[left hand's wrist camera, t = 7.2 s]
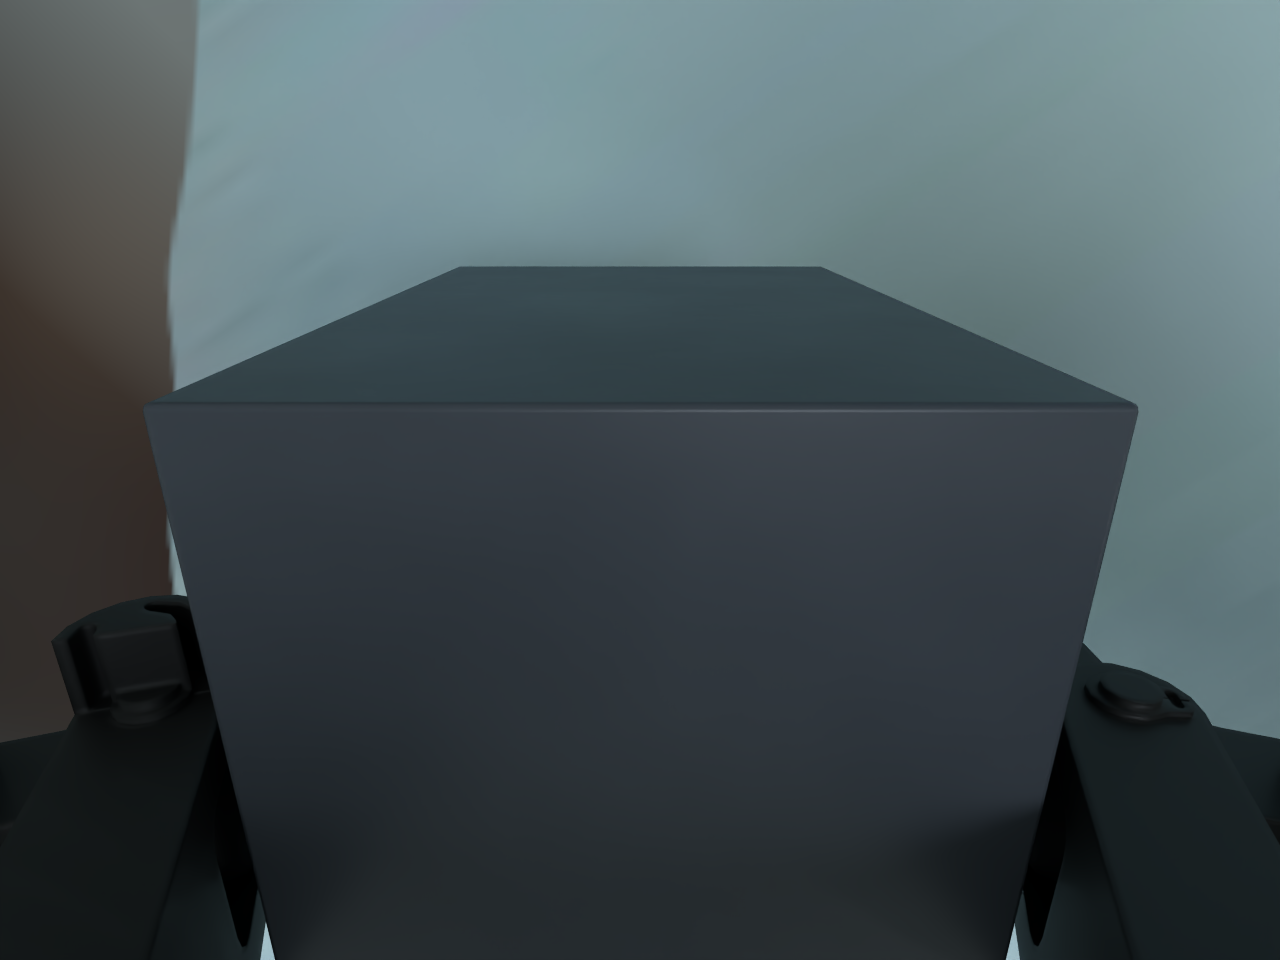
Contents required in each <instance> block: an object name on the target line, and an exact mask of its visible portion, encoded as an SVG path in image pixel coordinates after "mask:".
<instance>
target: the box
mask: <svg viewBox="0 0 1280 960" xmlns="http://www.w3.org/2000/svg"><path fill="white" fill-rule="evenodd" d="M143 415H144V419H145V423H146V427H147V431H148V435H149V439H150V443H151V448H152V452H153V456H154V460H155V464H156V468H157V472H158V476H159V481H160V485H161V489H162V493H163V497H164V501H165V506H166V510H167V514H168V518H169V522H170V526H171V530H172V535H173V539H174V543H175V547H176V551H177V555H178V559H179V564H180V568H181V572H182V576H183V580H184V584H185V588H186V593H187V597H188V601H189V605H190V609H191V613H192V617H193V622H194V626H195V630H196V634H197V638H198V642H199V646H200V651H201V655H202V659H203V663H204V667H205V671H206V675H207V680H208V684H209V688H210V692H211V696H212V700H213V704H214V709H215V713H216V717H217V721H218V725H219V729H220V733H221V737H222V742H223V746H224V750H225V754H226V758H227V762H228V766H229V771H230V775H231V779H232V783H233V787H234V791H235V795H236V800H237V804H238V808H239V812H240V816H241V820H242V824H243V829H244V833H245V837H246V841H247V845H248V849H249V853H250V858H251V862H252V866H253V870H254V874H255V878H256V882H257V887H258V891H259V895H260V899H261V903H262V907H263V911H264V916H265V920H266V924H267V928H268V932H269V936H270V940H271V945H272V949H273V953H274V957H275V960H1006V956H1007V952H1008V948H1009V944H1010V940H1011V936H1012V932H1013V927H1014V923H1015V919H1016V915H1017V911H1018V907H1019V903H1020V899H1021V894H1022V890H1023V886H1024V882H1025V878H1026V874H1027V870H1028V866H1029V861H1030V857H1031V853H1032V849H1033V845H1034V841H1035V837H1036V833H1037V828H1038V824H1039V820H1040V816H1041V812H1042V808H1043V804H1044V799H1045V795H1046V791H1047V787H1048V783H1049V779H1050V775H1051V771H1052V766H1053V762H1054V758H1055V754H1056V750H1057V746H1058V742H1059V738H1060V733H1061V729H1062V725H1063V721H1064V717H1065V713H1066V709H1067V705H1068V700H1069V696H1070V692H1071V688H1072V684H1073V680H1074V676H1075V672H1076V667H1077V663H1078V659H1079V655H1080V651H1081V647H1082V643H1083V638H1084V634H1085V630H1086V626H1087V622H1088V618H1089V614H1090V610H1091V605H1092V601H1093V597H1094V593H1095V589H1096V585H1097V581H1098V577H1099V572H1100V568H1101V564H1102V560H1103V556H1104V552H1105V548H1106V544H1107V539H1108V535H1109V531H1110V527H1111V523H1112V519H1113V515H1114V511H1115V506H1116V502H1117V498H1118V494H1119V490H1120V486H1121V482H1122V478H1123V473H1124V469H1125V465H1126V461H1127V457H1128V453H1129V449H1130V444H1131V440H1132V436H1133V432H1134V428H1135V424H1136V420H1137V416H1138V406H1137V405H1136V404H1134V403H1132V402H1130V401H1127V400H1125V399H1123V398H1121V397H1118V396H1116V395H1114V394H1111V393H1109V392H1107V391H1104V390H1102V389H1100V388H1098V387H1095V386H1093V385H1091V384H1088V383H1086V382H1084V381H1082V380H1079V379H1077V378H1075V377H1072V376H1070V375H1068V374H1066V373H1063V372H1061V371H1059V370H1056V369H1054V368H1052V367H1049V366H1047V365H1045V364H1043V363H1040V362H1038V361H1036V360H1033V359H1031V358H1029V357H1027V356H1024V355H1022V354H1020V353H1017V352H1015V351H1013V350H1010V349H1008V348H1006V347H1004V346H1001V345H999V344H997V343H994V342H992V341H990V340H988V339H985V338H983V337H981V336H978V335H976V334H974V333H972V332H969V331H967V330H965V329H962V328H960V327H958V326H955V325H953V324H951V323H949V322H946V321H944V320H942V319H939V318H937V317H935V316H933V315H930V314H928V313H926V312H923V311H921V310H919V309H916V308H914V307H912V306H910V305H907V304H905V303H903V302H900V301H898V300H896V299H894V298H891V297H889V296H887V295H884V294H882V293H880V292H877V291H875V290H873V289H871V288H868V287H866V286H864V285H861V284H859V283H857V282H855V281H852V280H850V279H848V278H845V277H843V276H841V275H839V274H836V273H834V272H832V271H829V270H827V269H825V268H822V267H458V268H456V269H453V270H451V271H449V272H447V273H444V274H442V275H440V276H437V277H435V278H433V279H431V280H428V281H426V282H424V283H421V284H419V285H417V286H415V287H412V288H410V289H408V290H405V291H403V292H401V293H398V294H396V295H394V296H392V297H389V298H387V299H385V300H382V301H380V302H378V303H376V304H373V305H371V306H369V307H366V308H364V309H362V310H360V311H357V312H355V313H353V314H350V315H348V316H346V317H344V318H341V319H339V320H337V321H334V322H332V323H330V324H328V325H325V326H323V327H321V328H318V329H316V330H314V331H312V332H309V333H307V334H305V335H302V336H300V337H298V338H296V339H293V340H291V341H289V342H286V343H284V344H282V345H279V346H277V347H275V348H273V349H270V350H268V351H266V352H263V353H261V354H259V355H257V356H254V357H252V358H250V359H247V360H245V361H243V362H241V363H238V364H236V365H234V366H231V367H229V368H227V369H225V370H222V371H220V372H218V373H215V374H213V375H211V376H209V377H206V378H204V379H202V380H199V381H197V382H195V383H193V384H190V385H188V386H186V387H183V388H181V389H179V390H177V391H174V392H172V393H170V394H167V395H165V396H163V397H161V398H158V399H156V400H154V401H151V402H149V403H147V404H145V405H144V407H143Z"/></svg>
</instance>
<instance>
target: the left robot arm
mask: <svg viewBox="0 0 1280 960" xmlns="http://www.w3.org/2000/svg"><path fill="white" fill-rule="evenodd" d="M51 642H52V645H53V648H54V652H55V655H56V658H57V661H58V664H59V667H60V670H61V673H62V676H63V680H64V683H65V685H66V689H67V692H68V695H69V698H70V701H71V704H72V707H73V711H74V714H75V715H74V717H73V719H72V721H71V722H70V724H69V726H68V728H67V730H63V731H59V732H54V733H49V734H43V735H38V736H33V737H28V738H23V739H18V740H12V741H7V742H2V743H0V960H260V958H261V951H262V944H263V937H264V930H265V923H266V920H265V916H264V911H263V907H262V903H261V899H260V895H259V891H258V887H257V882H256V878H255V874H254V870H253V866H252V862H251V858H250V853H249V849H248V845H247V841H246V837H245V833H244V829H243V824H242V820H241V816H240V812H239V808H238V804H237V800H236V795H235V791H234V787H233V783H232V779H231V775H230V771H229V766H228V762H227V758H226V754H225V750H224V746H223V742H222V737H221V733H220V729H219V725H218V721H217V717H216V713H215V709H214V704H213V700H212V696H211V692H210V688H209V684H208V680H207V675H206V671H205V667H204V663H203V659H202V655H201V651H200V646H199V642H198V638H197V634H196V630H195V626H194V622H193V617H192V613H191V609H190V605H189V601H188V597H187V596H181V595H167V596H150V597H145V598H141V599H136V600H131V601H126V602H122V603H119V604H116V605H113V606H110V607H107V608H105V609H102V610H99V611H96V612H93V613H91V614H89V615H87V616H86V617H84V618H82V619H80V620H78V621H76V622H75V623H73V624H71V625H69V626H67V627H66V628H65V629H64V630H63V631H62V632H61V633H60V634H59V635H58V636H56V637H55V638H54V639H53V640H52V641H51ZM1015 928H1016V935H1017V942H1018V949H1019V956H1020V960H1280V739H1277V738H1272V737H1266V736H1261V735H1256V734H1251V733H1246V732H1240V731H1235V730H1230V729H1225V728H1220V727H1216V726H1212V724H1211V723H1210V721H1209V719H1208V717H1207V716H1206V714H1205V713H1204V712H1203V710H1202V709H1201V708H1200V707H1199V706H1198V705H1197V704H1196V703H1195V701H1194V700H1193V699H1192V698H1191V697H1190V696H1188V695H1187V694H1185V693H1184V692H1182V691H1180V690H1179V689H1177V688H1176V687H1174V686H1173V685H1171V684H1170V683H1168V682H1166V681H1164V680H1161V679H1159V678H1157V677H1154V676H1152V675H1150V674H1147V673H1145V672H1143V671H1140V670H1136V669H1132V668H1128V667H1124V666H1120V665H1116V664H1112V663H1102V662H1101V661H1100V660H1099V659H1098V658H1097V657H1096V656H1095V655H1094V654H1093V653H1092V652H1091V651H1090V650H1089V649H1088V648H1087V647H1086V646H1085V644H1084V643H1082V647H1081V651H1080V655H1079V659H1078V663H1077V667H1076V672H1075V676H1074V680H1073V684H1072V688H1071V692H1070V696H1069V700H1068V705H1067V709H1066V713H1065V717H1064V721H1063V725H1062V729H1061V733H1060V738H1059V742H1058V746H1057V750H1056V754H1055V758H1054V762H1053V766H1052V771H1051V775H1050V779H1049V783H1048V787H1047V791H1046V795H1045V799H1044V804H1043V808H1042V812H1041V816H1040V820H1039V824H1038V828H1037V833H1036V837H1035V841H1034V845H1033V849H1032V853H1031V857H1030V861H1029V866H1028V870H1027V874H1026V878H1025V882H1024V886H1023V890H1022V894H1021V899H1020V903H1019V907H1018V911H1017V915H1016V919H1015Z"/></svg>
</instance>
